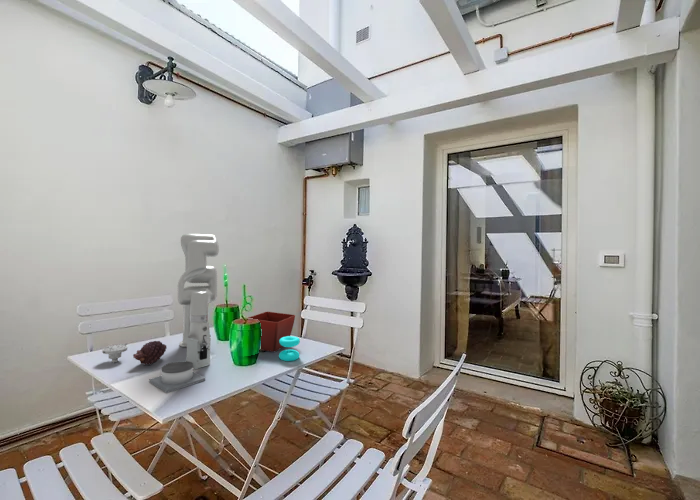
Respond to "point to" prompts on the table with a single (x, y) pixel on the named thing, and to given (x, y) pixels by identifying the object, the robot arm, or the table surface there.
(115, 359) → the showerhead
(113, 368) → the table surface
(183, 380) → the duct stub
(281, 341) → the donuts
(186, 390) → the table surface
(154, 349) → the pine cone
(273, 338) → the plant pot
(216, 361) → the table surface
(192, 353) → the supplement box
